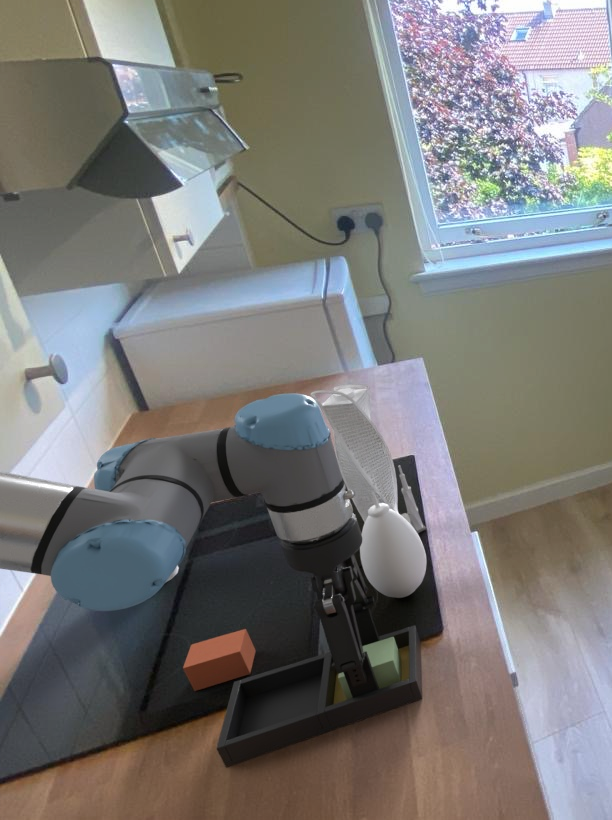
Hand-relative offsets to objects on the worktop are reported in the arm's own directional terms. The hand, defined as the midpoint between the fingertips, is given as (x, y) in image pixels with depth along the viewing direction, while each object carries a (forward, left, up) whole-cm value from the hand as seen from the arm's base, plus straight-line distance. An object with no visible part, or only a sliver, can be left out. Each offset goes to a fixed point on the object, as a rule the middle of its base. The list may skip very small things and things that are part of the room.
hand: (368, 673), depth 93 cm
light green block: (0, 0, -1) cm, 1 cm away
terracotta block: (-18, +12, -2) cm, 21 cm away
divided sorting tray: (-5, 0, -2) cm, 5 cm away
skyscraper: (+1, +35, -2) cm, 35 cm away
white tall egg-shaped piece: (+4, +17, -2) cm, 18 cm away
